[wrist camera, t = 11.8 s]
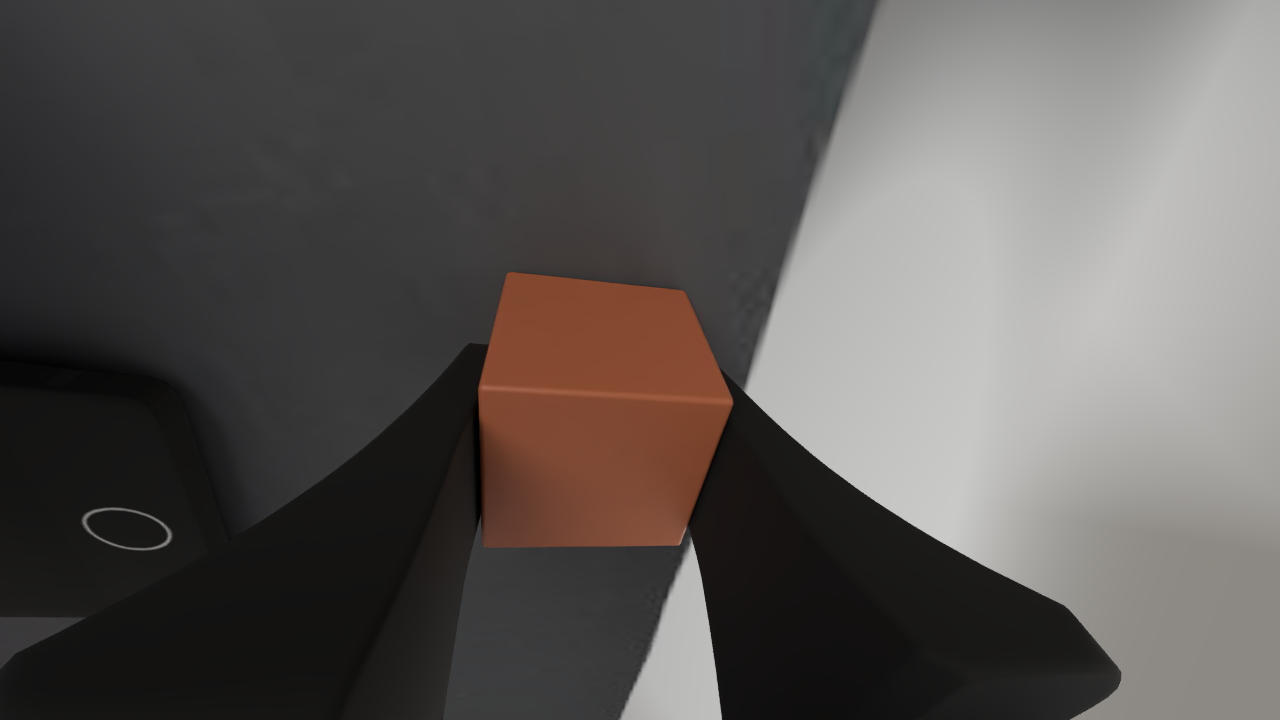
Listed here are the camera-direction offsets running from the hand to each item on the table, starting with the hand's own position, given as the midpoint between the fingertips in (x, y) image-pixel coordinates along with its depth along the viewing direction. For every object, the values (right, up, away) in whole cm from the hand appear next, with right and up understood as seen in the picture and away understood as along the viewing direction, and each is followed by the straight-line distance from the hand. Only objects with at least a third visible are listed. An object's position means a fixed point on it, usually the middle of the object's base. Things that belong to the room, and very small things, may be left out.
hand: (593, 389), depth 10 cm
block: (0, +1, +1) cm, 1 cm away
